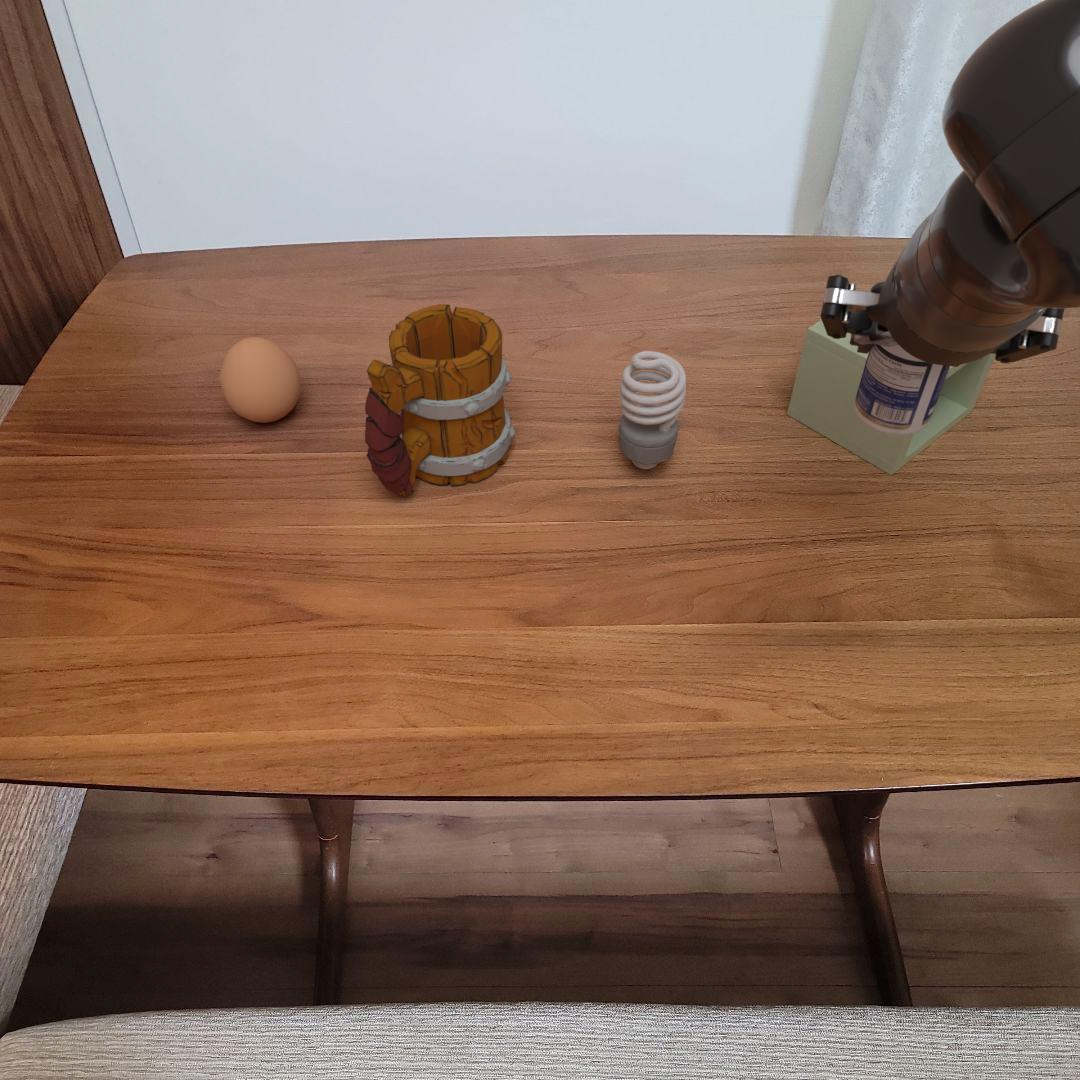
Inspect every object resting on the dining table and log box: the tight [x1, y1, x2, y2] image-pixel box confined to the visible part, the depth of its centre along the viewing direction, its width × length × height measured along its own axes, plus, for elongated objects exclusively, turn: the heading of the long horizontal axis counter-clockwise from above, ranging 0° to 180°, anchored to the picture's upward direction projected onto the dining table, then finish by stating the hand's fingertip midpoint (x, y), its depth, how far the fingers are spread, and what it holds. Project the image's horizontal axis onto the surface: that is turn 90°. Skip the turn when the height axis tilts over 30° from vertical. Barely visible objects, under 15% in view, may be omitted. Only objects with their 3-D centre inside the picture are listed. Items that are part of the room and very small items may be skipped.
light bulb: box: [618, 350, 687, 470], centre depth 82 cm, size 6×6×12 cm
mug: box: [364, 303, 516, 497], centre depth 81 cm, size 11×16×15 cm, turn 147°
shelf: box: [786, 279, 996, 476], centre depth 88 cm, size 12×14×10 cm
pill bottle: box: [854, 344, 950, 435], centre depth 64 cm, size 5×5×10 cm
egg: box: [219, 336, 302, 424], centre depth 88 cm, size 7×7×8 cm
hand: (908, 345), depth 65 cm, fingers closed on pill bottle, 5 cm apart
